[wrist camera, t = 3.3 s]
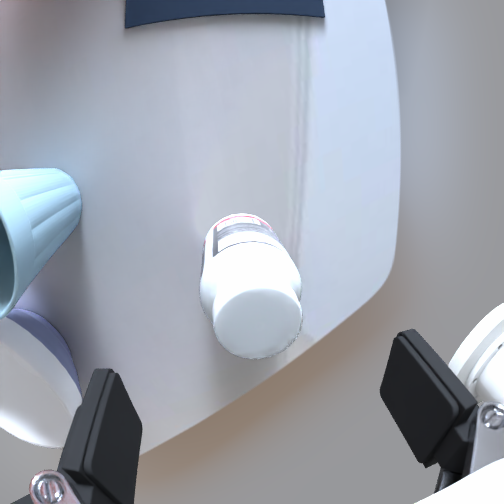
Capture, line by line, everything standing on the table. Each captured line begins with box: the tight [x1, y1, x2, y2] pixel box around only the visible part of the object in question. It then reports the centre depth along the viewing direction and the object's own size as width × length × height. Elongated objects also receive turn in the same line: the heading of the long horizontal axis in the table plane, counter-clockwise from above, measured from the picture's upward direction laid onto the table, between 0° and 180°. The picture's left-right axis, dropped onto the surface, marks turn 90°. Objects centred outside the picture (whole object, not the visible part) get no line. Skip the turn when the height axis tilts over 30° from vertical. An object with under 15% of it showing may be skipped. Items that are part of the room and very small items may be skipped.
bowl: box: [0, 309, 83, 449], centre depth 20 cm, size 14×14×8 cm
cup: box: [0, 168, 82, 320], centre depth 14 cm, size 8×8×10 cm
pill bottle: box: [199, 214, 303, 359], centre depth 18 cm, size 5×5×10 cm
